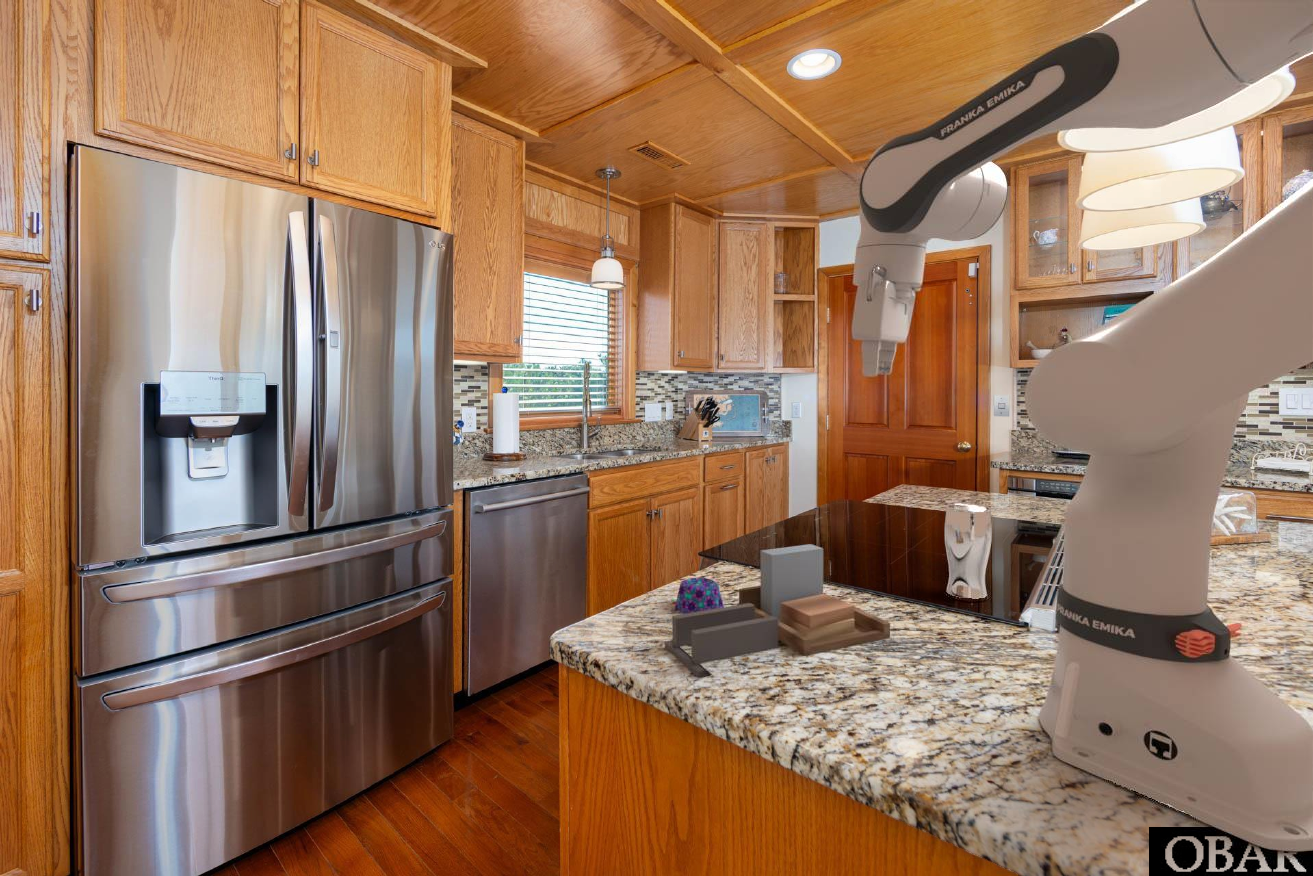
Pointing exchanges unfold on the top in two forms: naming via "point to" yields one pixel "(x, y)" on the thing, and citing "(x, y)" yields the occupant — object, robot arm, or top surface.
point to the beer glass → (967, 549)
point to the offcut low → (822, 629)
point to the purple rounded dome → (698, 595)
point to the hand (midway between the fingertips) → (877, 375)
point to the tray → (865, 631)
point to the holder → (720, 635)
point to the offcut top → (817, 611)
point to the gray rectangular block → (790, 576)
